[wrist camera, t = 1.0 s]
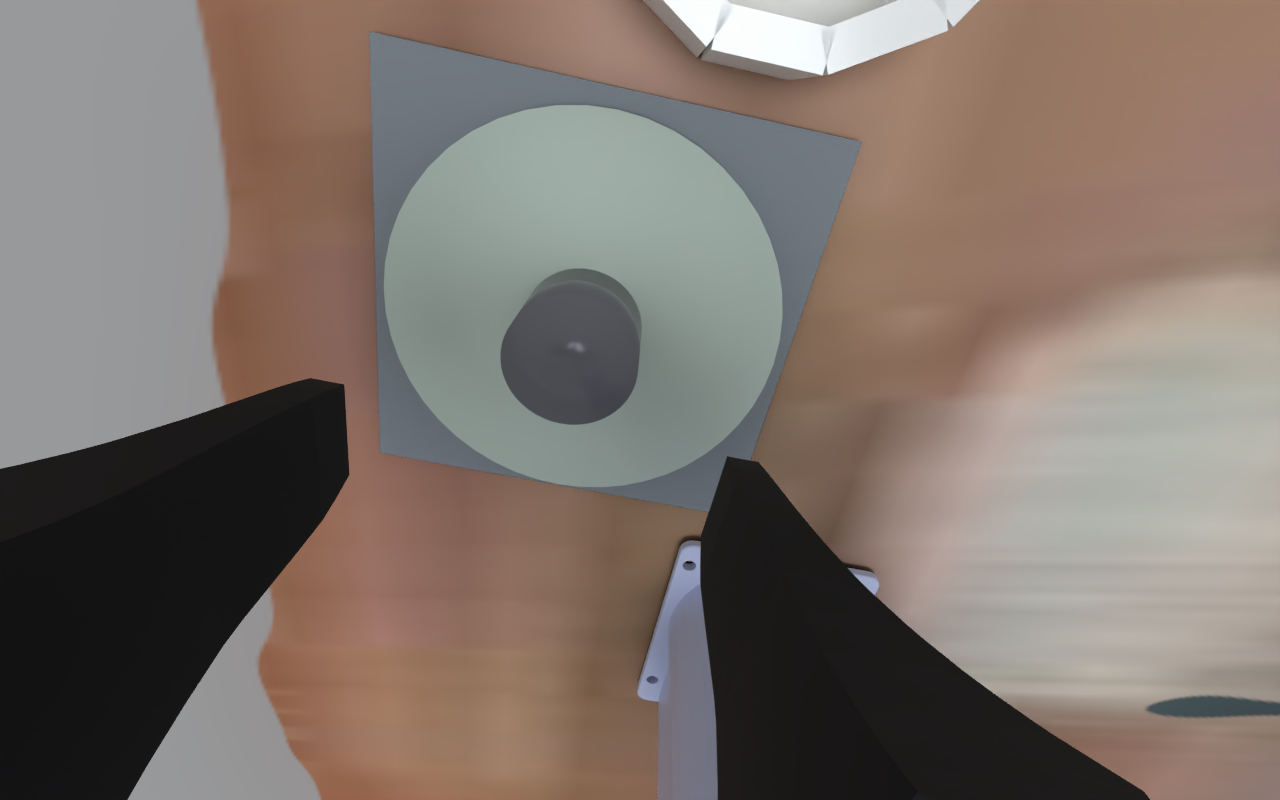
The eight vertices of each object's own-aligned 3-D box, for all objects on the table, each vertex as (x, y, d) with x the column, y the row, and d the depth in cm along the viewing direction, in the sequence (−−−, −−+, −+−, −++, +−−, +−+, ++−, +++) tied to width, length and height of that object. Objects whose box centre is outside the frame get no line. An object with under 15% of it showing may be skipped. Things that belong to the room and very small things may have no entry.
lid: (721, 503, 21) (731, 570, 18) (393, 443, 20) (346, 503, 17) (836, 157, 15) (878, 171, 12) (389, 58, 15) (319, 48, 12)
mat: (729, 510, 22) (730, 516, 21) (383, 448, 21) (379, 452, 20) (858, 140, 15) (861, 141, 15) (374, 32, 15) (369, 30, 14)
